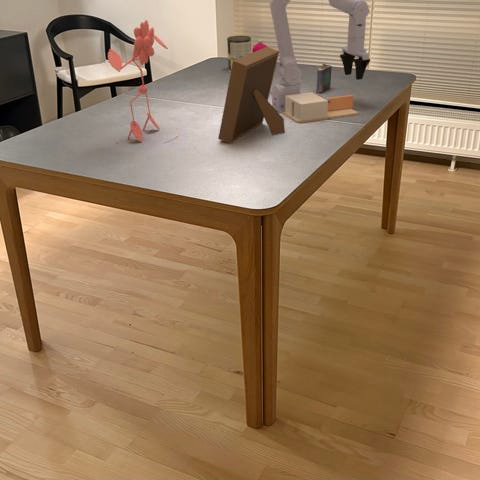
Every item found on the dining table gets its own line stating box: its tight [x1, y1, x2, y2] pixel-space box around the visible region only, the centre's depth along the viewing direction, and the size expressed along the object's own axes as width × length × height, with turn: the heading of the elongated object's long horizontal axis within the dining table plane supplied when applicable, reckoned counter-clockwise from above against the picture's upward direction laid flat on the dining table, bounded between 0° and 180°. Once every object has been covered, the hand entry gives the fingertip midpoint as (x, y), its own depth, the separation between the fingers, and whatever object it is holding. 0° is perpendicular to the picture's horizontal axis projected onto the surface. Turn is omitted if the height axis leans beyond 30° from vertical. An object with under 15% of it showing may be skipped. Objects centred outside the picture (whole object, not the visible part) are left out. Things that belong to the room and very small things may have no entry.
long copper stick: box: [324, 94, 355, 111], centre depth 211 cm, size 20×1×4 cm, turn 111°
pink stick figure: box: [107, 20, 179, 145], centre depth 186 cm, size 15×26×35 cm, turn 156°
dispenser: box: [282, 91, 359, 124], centre depth 211 cm, size 23×12×6 cm, turn 111°
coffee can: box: [226, 35, 252, 73], centre depth 268 cm, size 10×10×14 cm
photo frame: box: [218, 46, 286, 144], centre depth 188 cm, size 15×22×25 cm
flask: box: [316, 62, 333, 94], centre depth 237 cm, size 9×3×11 cm, turn 146°
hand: (353, 76), depth 217 cm, fingers open, 7 cm apart
